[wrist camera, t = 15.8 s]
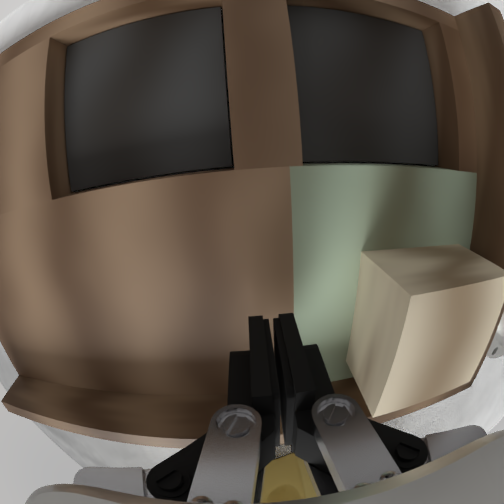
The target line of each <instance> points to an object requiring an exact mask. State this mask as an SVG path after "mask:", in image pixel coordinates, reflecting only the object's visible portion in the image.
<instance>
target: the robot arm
mask: <svg viewBox="0 0 504 504" xmlns="http://www.w3.org/2000/svg"><path fill="white" fill-rule="evenodd" d="M248 323H249V348H250V350H248V351H231V352H230V355H229V375H228V397H227V406H225V407H223V408H221V409H219V410H218V411H217V412H216V413H215V414H214V415H213V417H212V418H211V421H210V424H209V428H208V431H207V433H205V434H204V435H203V436H201V437H200V438H198V439H197V440H195V441H194V442H192V443H191V444H189V445H188V446H186V447H185V448H183V449H182V450H180V451H179V452H177V453H175V454H174V455H172V456H171V457H169V458H167V459H166V460H164V461H162V462H161V463H159V464H157V465H156V466H155V467H153V468H152V469H143V468H142V467H131V468H109V467H85V468H83V469H81V470H79V471H78V472H77V474H76V475H75V478H74V483H73V484H55V485H49V486H44V487H41V488H39V489H37V490H36V491H34V492H33V493H32V494H31V495H30V497H29V498H28V500H27V501H26V503H25V504H504V430H502V431H497V432H494V433H492V434H488V435H487V434H486V432H485V430H484V429H482V428H481V427H480V426H476V425H469V426H465V427H462V428H457V429H453V430H449V431H444V432H439V433H434V434H429V435H426V436H425V438H419V437H416V436H414V435H411V434H409V433H406V432H403V431H400V430H397V429H394V428H392V427H389V426H386V425H384V424H381V423H378V422H376V421H373V420H371V419H368V418H367V417H366V415H365V414H364V412H363V410H362V409H361V407H360V406H359V404H358V403H357V402H356V401H355V400H354V399H353V398H351V397H349V396H347V395H343V394H335V392H334V389H333V386H332V383H331V381H330V378H329V375H328V372H327V369H326V367H325V364H324V361H323V358H322V355H321V353H320V350H319V347H318V345H317V344H311V345H303V344H302V340H301V337H300V334H299V330H298V327H297V324H296V320H295V317H294V314H293V313H284V314H278V318H273V333H274V350H273V343H272V337H271V330H270V324H269V319H263V315H260V316H248ZM503 355H504V312H503V314H502V317H501V320H500V323H499V326H498V328H497V331H496V333H495V336H494V338H493V341H492V343H491V346H490V348H489V350H488V352H487V355H486V356H487V357H489V358H498V357H501V356H503ZM280 415H281V422H282V430H283V437H284V444H285V445H291V452H294V453H295V456H297V457H299V458H301V459H302V460H304V464H305V467H306V470H307V472H308V475H309V477H310V480H311V482H312V485H313V487H314V490H315V492H316V495H317V497H312V498H305V499H299V500H291V501H282V502H271V503H261V501H262V494H263V486H264V477H265V466H267V465H268V464H269V463H270V462H271V461H272V460H273V459H274V458H275V446H280Z"/></svg>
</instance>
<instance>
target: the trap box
mask: <svg viewBox="0 0 504 504" xmlns="http://www.w3.org/2000/svg"><path fill="white" fill-rule="evenodd" d="M221 9H223V22H224V37H225V52H226V67H227V81H228V94H229V108H230V121H231V134H232V146H233V159H234V168H227V169H217V170H207V171H199V172H190V173H182V174H175V175H168V176H161V177H154V178H148V179H141V180H136V181H130V182H124V183H119V184H113V185H108V186H103V187H98V188H93V189H89V190H84V191H79V192H75V193H74V191H76V190H80V189H85V188H90V187H94V186H99V185H104V184H109V183H114V182H119V181H125V180H130V179H136V178H142V177H148V176H155V175H161V174H168V173H175V172H183V171H191V170H199V169H208V168H217V167H228V166H232V158H231V145H230V133H229V120H228V107H227V93H226V79H225V65H224V50H223V35H222V19H221ZM315 161H365V162H394V163H412V164H425V165H435V167H430V166H417V165H400V164H374V163H311V164H303V162H315ZM452 244H460V245H461V246H463V247H465V248H467V249H469V250H471V251H473V252H474V253H476V254H478V255H480V256H482V257H483V258H485V259H487V260H489V261H490V262H492V263H494V264H495V265H497V266H499V267H500V268H502V269H504V20H503V17H502V14H501V12H500V10H498V9H497V8H496V7H494V6H493V5H491V4H490V3H486V4H484V5H481V6H478V7H476V8H473V9H471V10H468V11H466V12H463V13H461V14H459V15H456V16H452V15H450V14H448V13H446V12H444V11H442V10H440V9H437V8H435V7H433V6H430V5H428V4H425V3H423V2H420V1H418V0H100V1H97V2H94V3H92V4H89V5H87V6H85V7H82V8H80V9H78V10H75V11H73V12H71V13H69V14H67V15H65V16H63V17H61V18H58V19H57V20H55V21H53V22H51V23H49V24H47V25H45V26H43V27H42V28H40V29H38V30H36V31H35V32H33V33H31V34H29V35H28V36H26V37H25V38H23V39H21V40H20V41H18V42H17V43H15V44H14V45H12V46H11V47H9V48H8V49H6V50H5V51H3V52H2V53H1V54H0V341H1V343H2V345H3V347H4V349H5V351H6V353H7V355H8V357H9V358H10V360H11V362H12V364H13V366H14V367H15V369H16V371H17V372H18V374H19V376H18V378H17V379H16V380H15V382H14V383H13V385H12V386H11V388H10V389H9V390H8V392H7V393H6V395H5V396H4V398H3V399H2V403H3V404H4V406H5V407H6V408H7V410H8V411H9V412H12V413H14V414H17V415H20V416H22V417H25V418H27V419H30V420H33V421H36V422H39V423H42V424H45V425H48V426H51V427H55V428H58V429H62V430H65V431H69V432H73V433H77V434H81V435H86V436H90V437H95V438H100V439H105V440H110V441H116V442H122V443H129V444H137V445H145V446H155V447H167V448H185V447H186V446H188V445H189V444H191V443H192V442H194V441H195V440H197V439H198V438H200V437H201V436H203V435H204V434H205V433H207V431H208V428H209V424H210V421H211V418H212V417H213V415H214V414H215V413H216V412H217V411H218V410H219V409H221V408H223V407H225V406H227V397H228V375H229V355H230V352H231V351H248V350H250V348H249V323H248V316H260V315H263V319H269V324H270V330H271V337H272V343H273V350H274V333H273V318H278V314H284V313H293V314H294V317H295V320H296V324H297V327H298V330H299V334H300V337H301V340H302V344H303V345H311V344H317V345H318V347H319V350H320V353H321V355H322V358H323V361H324V364H325V367H326V369H327V372H328V375H329V378H330V381H331V383H332V386H333V389H334V392H335V394H343V395H347V396H349V397H351V398H353V399H354V400H355V401H356V402H357V403H358V404H359V406H360V407H361V409H362V410H363V412H364V414H365V415H366V417H367V418H368V419H371V420H373V421H376V422H378V423H383V422H386V421H389V420H392V419H395V418H398V417H401V416H404V415H406V414H409V413H412V412H415V411H417V410H420V409H422V408H425V407H427V406H430V405H432V404H434V403H437V402H439V401H441V400H444V399H446V398H448V397H450V396H452V395H454V394H457V393H459V392H461V391H463V390H465V389H467V388H469V387H470V386H471V385H472V383H473V381H474V379H475V377H476V375H477V374H478V372H479V369H480V367H481V365H482V363H483V361H484V359H485V357H486V355H487V352H488V350H489V348H490V346H491V343H492V341H493V338H494V336H495V333H496V331H497V328H498V326H499V323H500V320H501V317H502V314H503V312H504V303H503V306H502V309H501V312H500V315H499V317H498V320H497V323H496V325H495V328H494V330H493V333H492V335H491V338H490V340H489V343H488V345H487V347H486V349H485V352H484V354H483V356H482V358H481V360H480V362H479V364H478V366H477V368H476V370H475V372H474V374H473V376H472V378H471V380H470V382H468V383H466V384H463V385H461V386H459V387H457V388H455V389H453V390H450V391H448V392H446V393H443V394H441V395H438V396H436V397H433V398H431V399H428V400H426V401H423V402H420V403H418V404H415V405H412V406H409V407H406V408H403V409H400V410H397V411H394V412H391V413H387V414H384V415H381V416H377V417H374V418H373V417H372V415H371V413H370V411H369V409H368V406H367V404H366V402H365V400H364V398H363V396H362V394H361V392H360V389H359V387H358V385H357V383H356V381H355V379H354V377H353V375H352V373H351V371H350V368H349V366H348V364H347V362H346V357H347V352H348V346H349V341H350V335H351V329H352V323H353V316H354V310H355V302H356V295H357V287H358V278H359V269H360V258H361V251H375V250H388V249H401V248H414V247H427V246H440V245H452ZM280 444H284V437H283V430H282V422H281V415H280Z"/></svg>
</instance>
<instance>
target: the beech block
mask: <svg viewBox="0 0 504 504" xmlns="http://www.w3.org/2000/svg"><path fill="white" fill-rule="evenodd" d="M503 303H504V269H502V268H500V267H499V266H497V265H495V264H494V263H492V262H490V261H489V260H487V259H485V258H483V257H482V256H480V255H478V254H476V253H474V252H473V251H471V250H469V249H467V248H465V247H463V246H461V245H460V244H452V245H440V246H427V247H414V248H401V249H388V250H375V251H361V258H360V269H359V278H358V287H357V295H356V302H355V310H354V316H353V323H352V329H351V335H350V341H349V346H348V352H347V357H346V362H347V364H348V366H349V368H350V371H351V373H352V375H353V377H354V379H355V381H356V383H357V385H358V387H359V389H360V392H361V394H362V396H363V398H364V400H365V402H366V404H367V406H368V409H369V411H370V413H371V415H372V417H373V418H374V417H377V416H381V415H384V414H387V413H391V412H394V411H397V410H400V409H403V408H406V407H409V406H412V405H415V404H418V403H420V402H423V401H426V400H428V399H431V398H433V397H436V396H438V395H441V394H443V393H446V392H448V391H450V390H453V389H455V388H457V387H459V386H461V385H463V384H466V383H468V382H470V380H471V378H472V376H473V374H474V372H475V370H476V368H477V366H478V364H479V362H480V360H481V358H482V356H483V354H484V352H485V349H486V347H487V345H488V343H489V340H490V338H491V335H492V333H493V330H494V328H495V325H496V323H497V320H498V317H499V315H500V312H501V309H502V306H503Z"/></svg>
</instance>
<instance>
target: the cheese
mask: <svg viewBox="0 0 504 504" xmlns="http://www.w3.org/2000/svg"><path fill="white" fill-rule="evenodd" d="M312 497H317V495H316V492H315V490H314V487H313V485H312V482H311V480H310V477H309V475H308V472H307V470H306V467H305V464H304V460H302V459H301V458H299V457H297V456H295V453H292V454H288V455H286V456H283V457H280V458H277V459H275V460H272V461H271V462H270V463H269V464H268V465H267V466H265V477H264V486H263V494H262V501H261V503H271V502H282V501H291V500H299V499H305V498H312Z"/></svg>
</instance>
